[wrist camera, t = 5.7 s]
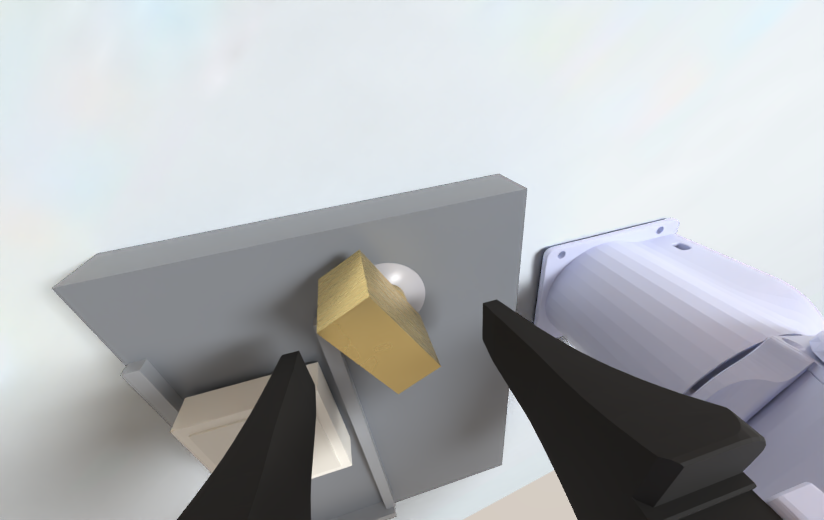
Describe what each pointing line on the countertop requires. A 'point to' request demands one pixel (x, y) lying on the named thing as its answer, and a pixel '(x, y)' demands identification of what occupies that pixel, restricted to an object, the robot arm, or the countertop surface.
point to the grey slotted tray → (297, 326)
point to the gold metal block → (374, 324)
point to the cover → (231, 406)
